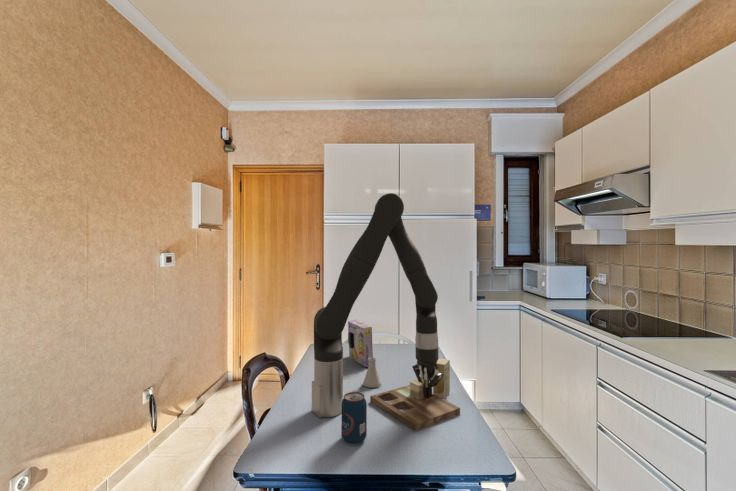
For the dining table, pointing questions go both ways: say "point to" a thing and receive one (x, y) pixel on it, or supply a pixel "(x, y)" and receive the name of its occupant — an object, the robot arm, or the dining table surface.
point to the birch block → (416, 389)
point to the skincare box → (443, 379)
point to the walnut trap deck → (415, 408)
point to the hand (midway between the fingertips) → (427, 397)
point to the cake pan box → (360, 342)
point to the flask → (372, 375)
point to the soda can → (354, 418)
